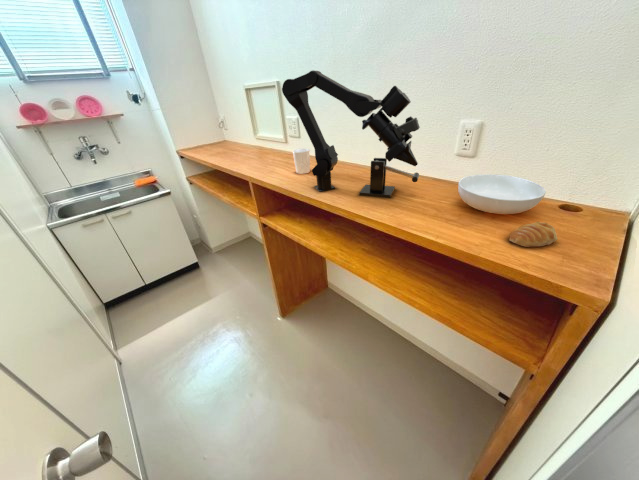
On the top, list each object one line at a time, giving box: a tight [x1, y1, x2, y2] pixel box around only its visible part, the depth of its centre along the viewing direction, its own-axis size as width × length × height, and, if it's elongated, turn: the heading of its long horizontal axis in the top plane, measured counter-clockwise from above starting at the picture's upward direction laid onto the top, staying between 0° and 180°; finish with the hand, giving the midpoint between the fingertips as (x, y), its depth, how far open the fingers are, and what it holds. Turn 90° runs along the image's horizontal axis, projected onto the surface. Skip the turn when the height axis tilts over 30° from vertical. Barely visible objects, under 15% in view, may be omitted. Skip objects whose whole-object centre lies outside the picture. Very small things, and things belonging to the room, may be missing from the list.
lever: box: [376, 160, 420, 183], centre depth 86 cm, size 15×5×2 cm, turn 67°
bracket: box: [358, 157, 396, 199], centre depth 89 cm, size 11×9×12 cm
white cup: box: [292, 148, 311, 175], centre depth 119 cm, size 8×8×10 cm
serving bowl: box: [457, 173, 547, 215], centre depth 74 cm, size 21×21×7 cm
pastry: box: [509, 221, 558, 248], centre depth 58 cm, size 9×7×4 cm
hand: (416, 165), depth 82 cm, fingers closed
